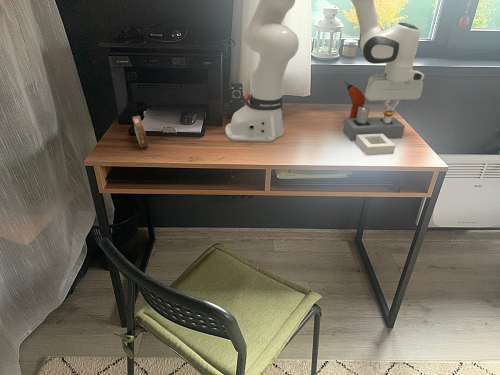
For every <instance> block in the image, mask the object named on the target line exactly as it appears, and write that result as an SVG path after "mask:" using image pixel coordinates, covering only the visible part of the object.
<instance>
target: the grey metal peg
mask: <svg viewBox="0 0 500 375" xmlns="http://www.w3.org/2000/svg"><path fill="white" fill-rule="evenodd" d="M370 110H371V107H370V106H368V105H365V104H364V105H361V106H359V108H358V114H357V119H356V125H357V126H366V125H367V121H368V118H369V114H370Z"/></svg>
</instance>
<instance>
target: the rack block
mask: <svg viewBox="0 0 500 375" xmlns="http://www.w3.org/2000/svg"><path fill="white" fill-rule="evenodd" d="M354 143H355V144H356V145H357V146H358V147H359V149H361V151H362V152H363V153H364V154H365V155H367V156H368V155H369V156H370V155H387V154H388V155H390V154H394V153H395V150H396V144H395V143H393V142H392V141H391V140H390V139H388V138H387V137H386V136H385V135H384V134H363V135H357V136H356V140H355V142H354Z"/></svg>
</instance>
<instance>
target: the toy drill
mask: <svg viewBox="0 0 500 375" xmlns="http://www.w3.org/2000/svg"><path fill="white" fill-rule="evenodd" d="M344 83H345V85H346V86H347V88H346V90H347V91H348V96H349V97H350V101H351V103H352V106H351V109H350V114H349V118H357V114H358V108H359V106H361V105H364V106H365V101H366V97H365V94H363V92H362V91H361V90H360V89H359V88H358V87H356V86H354V85H353V84H350V83H349V82H348V81H347V80H345V81H344Z"/></svg>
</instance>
